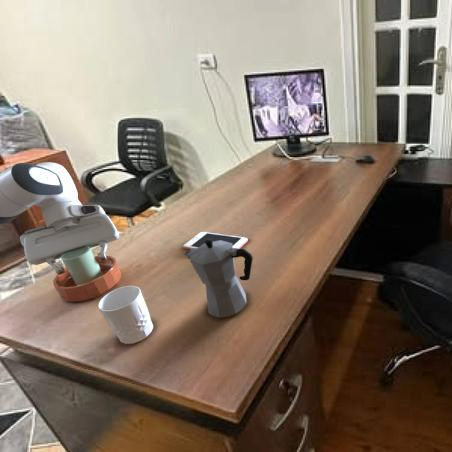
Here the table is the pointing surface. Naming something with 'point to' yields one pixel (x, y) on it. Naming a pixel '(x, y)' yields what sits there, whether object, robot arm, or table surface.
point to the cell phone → (202, 236)
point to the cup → (82, 265)
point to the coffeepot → (221, 275)
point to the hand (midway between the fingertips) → (82, 266)
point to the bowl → (92, 288)
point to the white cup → (127, 314)
